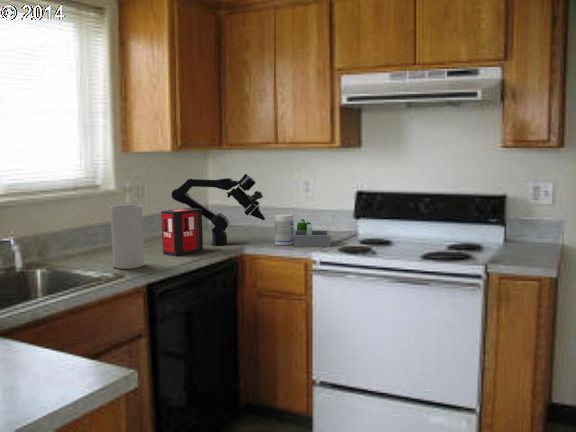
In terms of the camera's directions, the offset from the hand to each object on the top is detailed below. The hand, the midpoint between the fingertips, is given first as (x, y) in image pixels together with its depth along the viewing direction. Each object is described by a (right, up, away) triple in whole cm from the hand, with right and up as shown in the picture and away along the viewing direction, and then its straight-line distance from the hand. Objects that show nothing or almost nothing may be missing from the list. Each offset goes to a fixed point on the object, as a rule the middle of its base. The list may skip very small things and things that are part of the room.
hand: (264, 219), depth 300 cm
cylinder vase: (-55, -19, -48) cm, 75 cm away
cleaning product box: (-37, -16, -18) cm, 44 cm away
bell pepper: (+20, -10, +22) cm, 32 cm away
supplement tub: (+10, -13, +1) cm, 16 cm away
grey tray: (+23, -12, 0) cm, 26 cm away
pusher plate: (+23, -12, 0) cm, 26 cm away
